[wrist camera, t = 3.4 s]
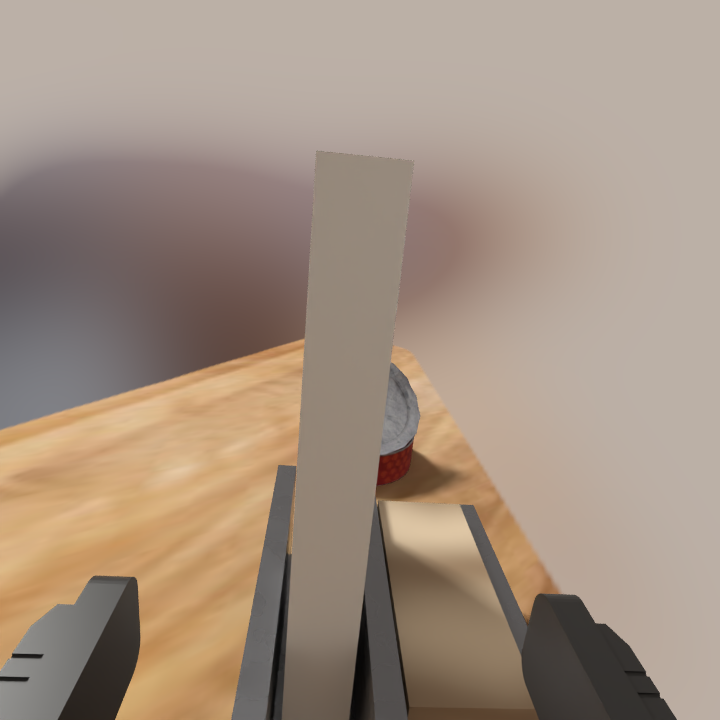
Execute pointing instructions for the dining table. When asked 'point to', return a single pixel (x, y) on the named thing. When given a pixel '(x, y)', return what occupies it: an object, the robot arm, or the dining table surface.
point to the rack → (377, 633)
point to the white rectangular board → (341, 420)
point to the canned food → (397, 428)
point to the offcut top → (448, 619)
